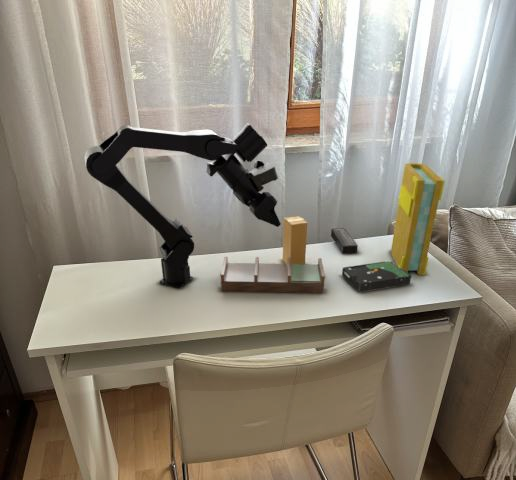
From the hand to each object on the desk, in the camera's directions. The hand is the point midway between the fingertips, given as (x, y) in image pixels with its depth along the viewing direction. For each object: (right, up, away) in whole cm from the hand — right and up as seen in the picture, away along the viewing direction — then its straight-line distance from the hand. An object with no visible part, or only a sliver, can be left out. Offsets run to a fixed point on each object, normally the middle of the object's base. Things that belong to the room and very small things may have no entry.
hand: (272, 219), depth 130 cm
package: (+6, -10, +10) cm, 15 cm away
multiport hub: (+22, -2, +22) cm, 31 cm away
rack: (0, -17, 0) cm, 17 cm away
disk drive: (+27, -16, +1) cm, 31 cm away
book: (+38, -9, +11) cm, 41 cm away
